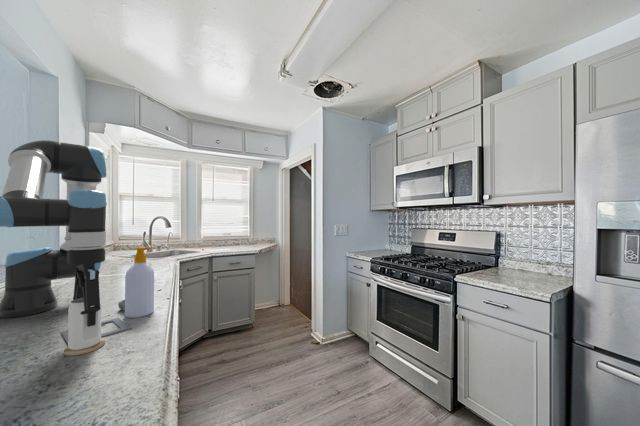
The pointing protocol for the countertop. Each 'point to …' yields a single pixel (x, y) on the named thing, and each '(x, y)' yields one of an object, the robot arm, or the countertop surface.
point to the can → (80, 327)
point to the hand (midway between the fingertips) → (85, 332)
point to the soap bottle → (139, 287)
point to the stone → (122, 305)
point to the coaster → (79, 352)
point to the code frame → (117, 321)
